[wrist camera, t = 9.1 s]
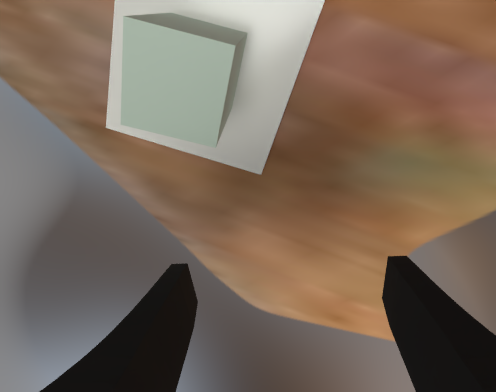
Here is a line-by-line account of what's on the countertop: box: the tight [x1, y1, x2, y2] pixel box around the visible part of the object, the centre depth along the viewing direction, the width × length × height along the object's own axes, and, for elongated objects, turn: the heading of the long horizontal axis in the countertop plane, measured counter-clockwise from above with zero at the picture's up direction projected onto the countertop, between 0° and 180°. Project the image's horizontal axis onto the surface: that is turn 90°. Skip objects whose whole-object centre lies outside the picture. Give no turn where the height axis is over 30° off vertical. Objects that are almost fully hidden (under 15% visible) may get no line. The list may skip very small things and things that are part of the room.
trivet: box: [106, 0, 325, 175], centre depth 18 cm, size 10×10×1 cm
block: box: [121, 13, 248, 148], centre depth 15 cm, size 4×4×6 cm
